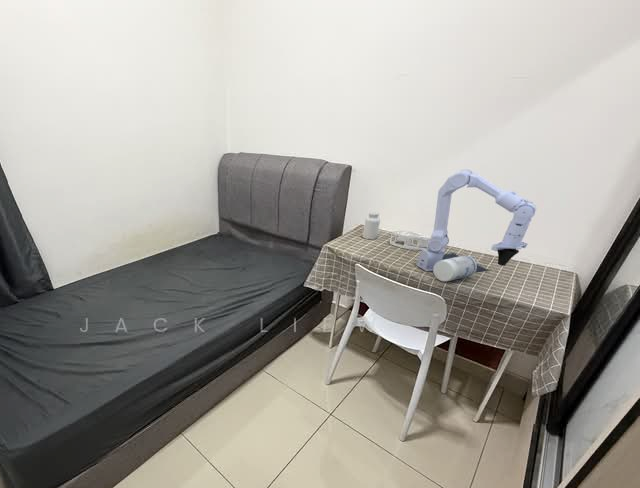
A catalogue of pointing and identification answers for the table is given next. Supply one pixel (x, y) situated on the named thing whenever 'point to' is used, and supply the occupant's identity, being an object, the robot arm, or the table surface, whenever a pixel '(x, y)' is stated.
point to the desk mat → (448, 256)
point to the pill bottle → (371, 226)
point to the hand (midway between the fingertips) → (501, 264)
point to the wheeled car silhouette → (405, 237)
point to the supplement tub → (455, 268)
